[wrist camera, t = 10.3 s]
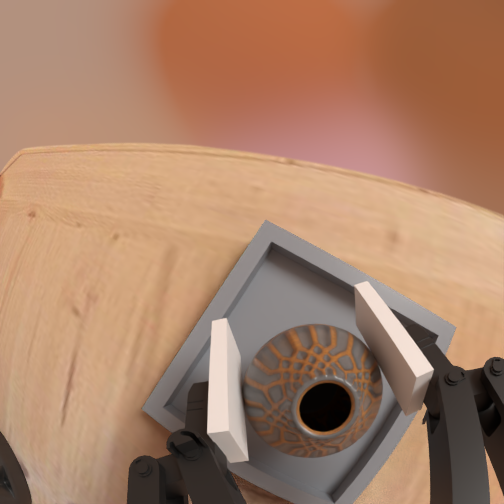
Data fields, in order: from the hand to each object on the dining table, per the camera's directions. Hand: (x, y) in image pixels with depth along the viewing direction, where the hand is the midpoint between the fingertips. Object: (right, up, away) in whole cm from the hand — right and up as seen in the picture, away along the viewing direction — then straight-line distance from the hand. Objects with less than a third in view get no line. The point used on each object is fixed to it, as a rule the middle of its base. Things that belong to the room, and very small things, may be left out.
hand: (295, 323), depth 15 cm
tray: (+1, -5, +4) cm, 7 cm away
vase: (+1, -5, +2) cm, 5 cm away
